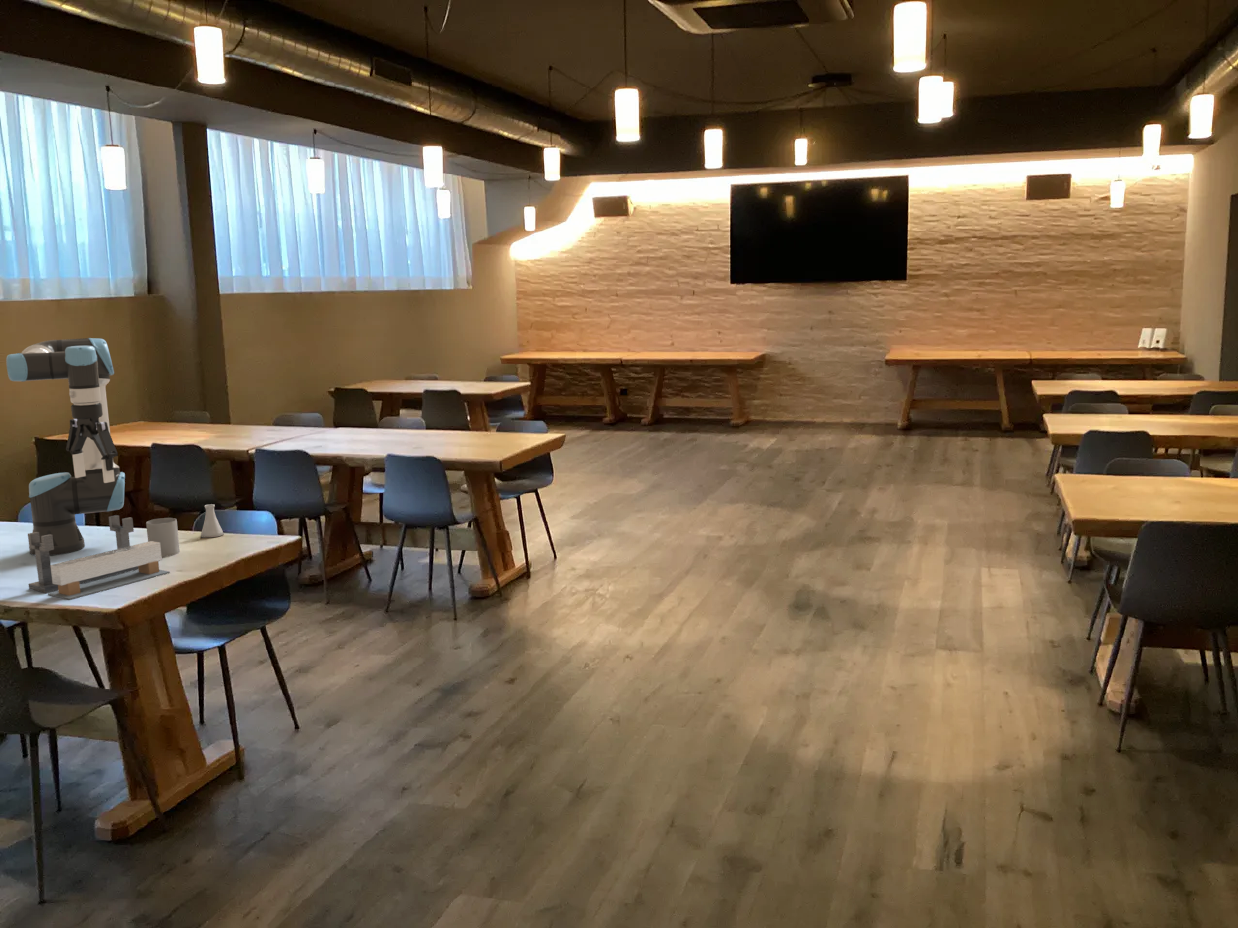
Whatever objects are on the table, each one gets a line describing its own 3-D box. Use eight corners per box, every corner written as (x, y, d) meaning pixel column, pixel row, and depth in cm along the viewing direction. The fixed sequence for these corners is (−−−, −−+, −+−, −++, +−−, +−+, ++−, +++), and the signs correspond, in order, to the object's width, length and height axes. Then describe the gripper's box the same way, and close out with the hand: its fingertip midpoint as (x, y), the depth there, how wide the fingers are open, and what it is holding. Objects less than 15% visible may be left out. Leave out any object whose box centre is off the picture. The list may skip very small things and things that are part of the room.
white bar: (52, 583, 277) (50, 564, 276) (153, 558, 301) (151, 541, 300) (61, 585, 274) (59, 566, 274) (161, 559, 298) (160, 542, 298)
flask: (220, 537, 339) (218, 506, 337) (197, 538, 338) (194, 508, 337) (226, 532, 346) (224, 502, 345) (203, 533, 345) (201, 503, 344)
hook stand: (29, 589, 284) (22, 534, 282) (125, 564, 308) (120, 514, 305) (45, 593, 280) (38, 537, 278) (142, 568, 303) (136, 516, 301)
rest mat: (47, 594, 279) (46, 582, 278) (148, 568, 303) (146, 556, 302) (69, 599, 273) (68, 587, 273) (169, 572, 297) (168, 561, 297)
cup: (168, 557, 315) (165, 524, 314) (143, 556, 317) (140, 523, 315) (185, 550, 324) (182, 518, 322) (161, 549, 325) (157, 517, 324)
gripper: (46, 401, 293) (55, 477, 297) (100, 408, 279) (108, 486, 284) (73, 398, 299) (81, 472, 303) (126, 404, 286) (134, 481, 290)
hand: (94, 479), depth 293 cm, fingers open, 13 cm apart
